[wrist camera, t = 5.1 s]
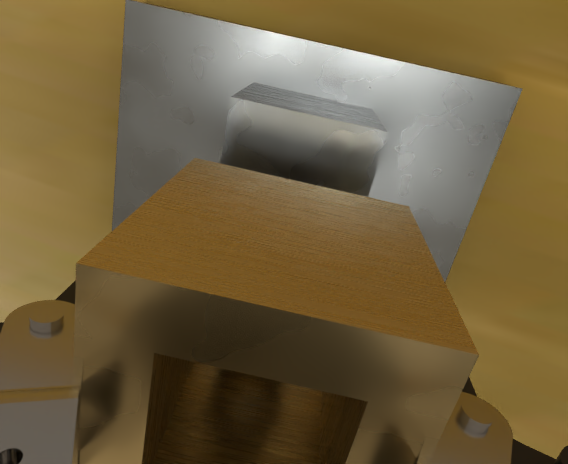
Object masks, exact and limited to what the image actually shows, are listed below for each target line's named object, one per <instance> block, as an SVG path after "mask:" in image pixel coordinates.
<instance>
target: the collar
mask: <svg viewBox="0 0 568 464" xmlns="http://www.w3.org/2000/svg"><path fill="white" fill-rule="evenodd" d="M74 356H75V357H80V358H84V362H83V384H82V396H81V407H80V420H79V437H78V450H80V464H414V463H415V460H416V457H417V455H418V452H419V450H420V448H421V446H422V444H423V441H424V439H425V437H430V438H434V439H440V437H441V435H442V433H443V431H444V428H445V426H446V424H447V422H448V420H449V418H450V416H451V413H452V411H453V409H454V407H455V405H456V403H457V401H458V399H459V396H460V394H461V392H462V390H463V388H464V386H465V384H466V382H467V379H468V377H469V375H470V373H471V371H472V369H473V367H474V365H475V362H476V360H477V358H478V356H479V354H478V352H477V350H476V348H475V345H474V343H473V341H472V339H471V337H470V335H469V333H468V331H467V329H466V326H465V324H464V322H463V320H462V318H461V316H460V314H459V312H458V309H457V307H456V305H455V303H454V301H453V299H452V297H451V295H450V293H449V290H448V288H447V286H446V284H445V282H444V280H443V278H442V276H441V273H440V271H439V269H438V267H437V265H436V263H435V261H434V259H433V256H432V254H431V252H430V250H429V248H428V246H427V244H426V242H425V240H424V237H423V235H422V233H421V231H420V229H419V227H418V225H417V223H416V220H415V218H414V216H413V214H412V212H411V210H410V208H409V206H405V205H401V204H397V203H392V202H388V201H383V200H379V199H375V198H370V197H366V196H361V195H357V194H352V193H348V192H344V191H339V190H335V189H330V188H326V187H322V186H317V185H313V184H308V183H304V182H300V181H295V180H291V179H286V178H282V177H278V176H273V175H269V174H264V173H260V172H255V171H251V170H247V169H242V168H238V167H233V166H229V165H225V164H220V163H216V162H211V161H207V160H203V159H198V158H194V159H193V160H192V161H191V162H189V163H188V164H187V165H186V166H185V167H184V168H183V169H182V170H180V171H179V172H178V173H177V174H176V175H175V176H174V177H173V178H171V179H170V180H169V181H168V182H167V183H166V184H165V185H164V186H162V187H161V188H160V189H159V190H158V191H157V192H156V193H155V194H153V195H152V196H151V197H150V198H149V199H148V200H147V201H146V202H144V203H143V204H142V205H141V206H140V207H139V208H138V209H137V210H135V211H134V212H133V213H132V214H131V215H130V216H129V217H128V218H126V219H125V220H124V221H123V222H122V223H121V224H120V225H119V226H117V227H116V228H115V229H114V230H113V231H112V232H111V233H110V234H108V235H107V236H106V237H105V238H104V239H103V240H102V241H101V242H99V243H98V244H97V245H96V246H95V247H94V248H93V249H92V250H90V251H89V252H88V253H87V254H86V255H85V256H84V257H83V258H81V259H80V260H79V261H78V262H77V263H76V288H75V326H74Z"/></svg>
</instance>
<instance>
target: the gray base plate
mask: <svg viewBox="0 0 568 464" xmlns="http://www.w3.org/2000/svg"><path fill="white" fill-rule="evenodd" d="M521 91H522V89H521V88H517V87H514V86H510V85H506V84H502V83H497V82H493V81H488V80H484V79H480V78H475V77H471V76H466V75H462V74H457V73H453V72H449V71H444V70H440V69H435V68H431V67H426V66H422V65H417V64H413V63H409V62H404V61H400V60H395V59H391V58H386V57H382V56H378V55H373V54H369V53H364V52H360V51H355V50H351V49H347V48H342V47H338V46H333V45H329V44H324V43H320V42H316V41H311V40H307V39H302V38H298V37H293V36H289V35H285V34H280V33H276V32H271V31H267V30H262V29H258V28H253V27H249V26H245V25H240V24H236V23H231V22H227V21H222V20H218V19H214V18H209V17H205V16H200V15H196V14H191V13H187V12H183V11H178V10H174V9H169V8H165V7H160V6H156V5H152V4H147V3H142V2H137V1H132V0H126V4H125V21H124V38H123V55H122V71H121V88H120V105H119V121H118V138H117V155H116V172H115V188H114V205H113V222H112V231H113V230H114V229H115V228H116V227H117V226H119V225H120V224H121V223H122V222H123V221H124V220H125V219H126V218H128V217H129V216H130V215H131V214H132V213H133V212H134V211H135V210H137V209H138V208H139V207H140V206H141V205H142V204H143V203H144V202H146V201H147V200H148V199H149V198H150V197H151V196H152V195H153V194H155V193H156V192H157V191H158V190H159V189H160V188H161V187H162V186H164V185H165V184H166V183H167V182H168V181H169V180H170V179H171V178H173V177H174V176H175V175H176V174H177V173H178V172H179V171H180V170H182V169H183V168H184V167H185V166H186V165H187V164H188V163H189V162H191V161H192V160H193V159H194V158H198V159H203V160H207V161H211V162H216V163H220V164H225V165H229V166H233V167H238V168H242V169H247V170H251V171H255V172H260V173H264V174H269V175H273V176H278V177H282V178H286V179H291V180H295V181H300V182H304V183H308V184H313V185H317V186H322V187H326V188H330V189H335V190H339V191H344V192H348V193H352V194H357V195H361V196H366V197H370V198H375V199H379V200H383V201H388V202H392V203H397V204H401V205H405V206H409V208H410V210H411V212H412V214H413V216H414V218H415V220H416V223H417V225H418V227H419V229H420V231H421V233H422V235H423V237H424V240H425V242H426V244H427V246H428V248H429V250H430V252H431V254H432V256H433V259H434V261H435V263H436V265H437V267H438V269H439V271H440V273H441V276H442V278H443V280H444V282H445V281H446V279H447V276H448V274H449V271H450V269H451V266H452V264H453V261H454V259H455V256H456V254H457V251H458V249H459V246H460V244H461V241H462V239H463V236H464V234H465V231H466V229H467V226H468V224H469V221H470V219H471V216H472V214H473V211H474V209H475V206H476V204H477V201H478V199H479V196H480V194H481V191H482V189H483V186H484V184H485V181H486V179H487V176H488V174H489V171H490V169H491V166H492V164H493V161H494V159H495V156H496V154H497V151H498V149H499V146H500V144H501V141H502V139H503V136H504V134H505V131H506V129H507V126H508V124H509V121H510V119H511V116H512V114H513V111H514V109H515V106H516V104H517V101H518V99H519V96H520V94H521Z"/></svg>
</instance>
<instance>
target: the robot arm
mask: <svg viewBox="0 0 568 464" xmlns="http://www.w3.org/2000/svg"><path fill="white" fill-rule="evenodd" d="M75 288H76V281H75V282H74V283H72V284H71V285H70V286H69V287H68V288H67V289H66V290H65V291H64V292H63V293H62V294H61V295H60V296H59V297H58V298H57V299H56V300H44V301H37V302H33V303H29V304H26V305H23V306H21V307H19V308H17V309H16V310H14V311H13V312H11V313H10V314H9V315H8V316H7V318H6V319H5V321H4V322H3V323H0V464H80V450H78V437H79V420H80V407H81V396H82V384H83V362H84V358H80V357H75V356H74V326H75ZM414 464H568V446H566V447H564V449H563V450H562V451H561V453H560V454H559V456H558V457H557V459H554V458H552V457H550V456H548V455H545V454H543V453H541V452H539V451H537V450H535V449H533V448H530V447H528V446H526V445H524V444H522V443H520V442H518V441H516V440H515V439H513V433H512V430H511V427H510V425H509V423H508V422H507V420H506V419H505V418H504V416H503V415H502V414H501V413H500V412H499V411H498V410H497V409H496V408H494V407H493V406H492V405H490V404H489V403H487V402H486V401H484V400H482V399H481V398H479V397H477V395H476V393H475V391H474V388H473V386H472V383H471V381H470V378H469V377H468V379H467V382H466V384H465V386H464V388H463V390H462V392H461V394H460V396H459V399H458V401H457V403H456V405H455V407H454V409H453V411H452V413H451V416H450V418H449V420H448V422H447V424H446V426H445V428H444V431H443V433H442V435H441V437H440V439H434V438H430V437H425V439H424V441H423V444H422V446H421V448H420V450H419V452H418V455H417V457H416V460H415V463H414Z"/></svg>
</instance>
